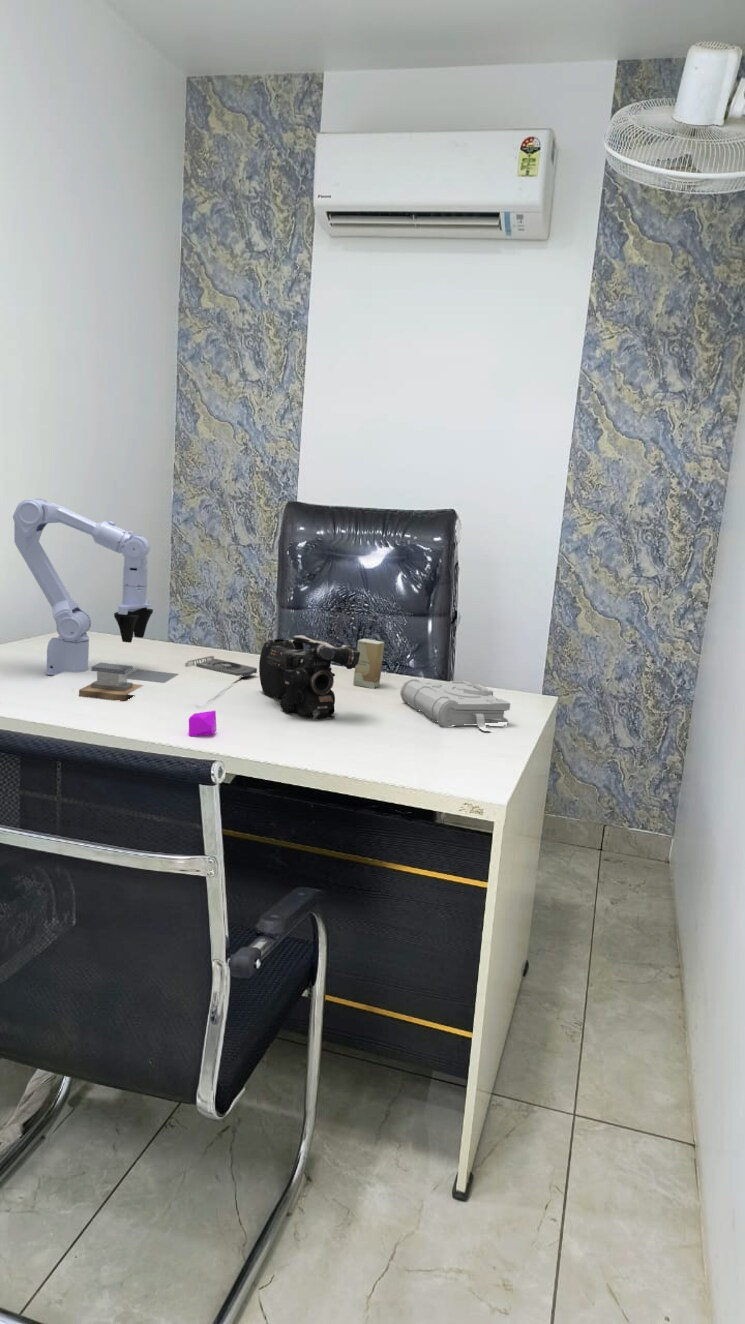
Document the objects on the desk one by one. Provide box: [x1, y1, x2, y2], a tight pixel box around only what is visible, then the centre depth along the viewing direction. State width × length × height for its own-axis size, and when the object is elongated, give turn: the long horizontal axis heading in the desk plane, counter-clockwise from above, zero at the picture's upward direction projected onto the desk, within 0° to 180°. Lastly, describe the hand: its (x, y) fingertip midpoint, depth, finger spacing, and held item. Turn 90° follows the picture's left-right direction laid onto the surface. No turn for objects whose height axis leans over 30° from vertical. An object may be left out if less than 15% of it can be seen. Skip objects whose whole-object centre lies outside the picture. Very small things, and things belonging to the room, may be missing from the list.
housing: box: [90, 662, 134, 692], centre depth 215 cm, size 8×5×5 cm, turn 83°
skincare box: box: [352, 638, 385, 689], centre depth 245 cm, size 6×4×12 cm
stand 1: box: [78, 683, 144, 702], centre depth 215 cm, size 11×11×2 cm
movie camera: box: [258, 634, 360, 720], centre depth 218 cm, size 31×18×18 cm, turn 33°
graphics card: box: [184, 655, 258, 679], centre depth 245 cm, size 17×4×12 cm
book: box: [400, 678, 511, 727], centre depth 221 cm, size 19×28×8 cm
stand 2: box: [127, 668, 179, 684], centre depth 230 cm, size 11×11×2 cm
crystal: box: [188, 710, 217, 737], centre depth 189 cm, size 5×5×5 cm
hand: (133, 639), depth 230 cm, fingers open, 7 cm apart
